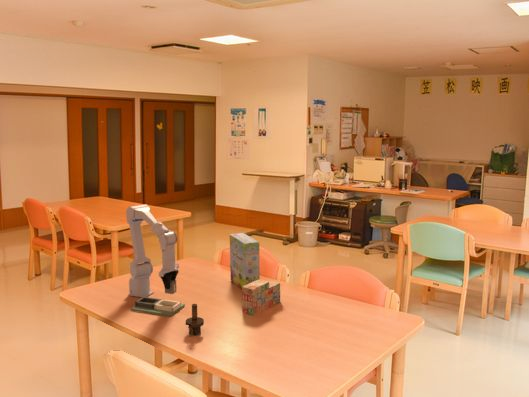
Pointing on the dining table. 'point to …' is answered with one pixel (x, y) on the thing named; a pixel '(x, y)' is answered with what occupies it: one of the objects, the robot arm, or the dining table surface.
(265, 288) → the stack of blocks
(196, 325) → the industrial component
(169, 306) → the board
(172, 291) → the plug
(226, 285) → the dining table surface
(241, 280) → the snack box
